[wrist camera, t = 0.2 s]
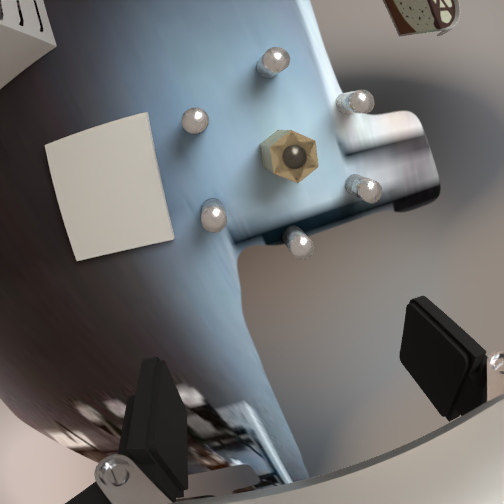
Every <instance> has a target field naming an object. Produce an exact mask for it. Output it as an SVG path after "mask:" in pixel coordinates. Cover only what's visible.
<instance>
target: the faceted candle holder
mask: <svg viewBox="0 0 504 504" xmlns="http://www.w3.org/2000/svg"><path fill="white" fill-rule="evenodd" d="M260 149H261V155H262V162H263V167H264V168H266V169H267V170H269V171H270V172H272V173H273V174H276V175H278V176H281V177H284V178H286V179H289V180H291V181H294V182H296V183H299V182H300V181H301V180H303V179H304V178H305V177H306V176H308V175H309V174H310V173H311V172H313V171H314V170H315V169H316V168H318V159H317V151H316V143H315V140H312V139H310V138H308V137H306V136H303V135H301V134H299V133H296V132H294V131H292V130H277V131H276V132H275V133H273V134H272V135H271V136H270V137H268V138H267V139H266V140H265V141H263V142H262V143H261V144H260Z"/></svg>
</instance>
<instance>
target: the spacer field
mask: <svg viewBox="0 0 504 504" xmlns="http://www.w3.org/2000/svg"><path fill="white" fill-rule="evenodd" d="M289 63H290V57H289V54H288V53H287V52H286V51H285V50H284V49H282V48H279V47H273V48H270V49H269V50H267V51H266V53H265V54H264V55H263V56H262V57H261V58H260V60H259V61H258V62H257V66H256V68H257V71H258V73H259V74H260V75H261V76H263V77H266V78H271V77H274V76H276V75H277V74H278V73H280V72H281V71H283V70H284V69H285V68H287V67H288V65H289ZM336 104H337V107H338V109H339V110H340V111H341V112H342V113H345V114H352V113H368V112H370V111H371V110H372V109H373V107H374V98H373V96H372V94H371V93H370V92H368V91H366V90H358V91H352V92H347V93H343V94H340V95H339V96H338V98H337V100H336ZM208 122H209V118H208V115H207V113H206V112H205V111H204V110H203V109H200V108H191V109H189V110H187V111H186V112H185V113H184V114H183V116H182V126H183V128H184V129H185V130H186V131H187V132H189V133H192V134H198V133H201V132H203V131H204V130H205V129H206V127H207V125H208ZM345 186H346V190H347V191H348V192H349V193H350V194H352V195H354V196H356V197H358V198H360V199H362V200H364V201H366V202H368V203H375V202H377V201H378V200H379V199H380V197H381V195H382V187H381V185H380V184H379V183H378V182H377V181H374V180H371V179H369V178H366V177H363V176H360V175H357V174H353V175H350V176H349V177H348V178H347V180H346V184H345ZM201 223H202V226H203V227H204V229H205V230H207V231H209V232H212V233H215V232H219V231H221V230H222V229H224V227H225V226H226V223H227V217H226V213H225V210H224V206H223V204H222V202H221V201H220V200H218V199H215V198H211V199H208V200H206V201H205V202H204V203H203V205H202V209H201ZM282 239H283V241H284V243H285V244H286V246H287V247H288V248H289V250H290V251H291V253H292V254H293V256H294V257H295V258H296V259H298V260H305V259H308V258H309V257H310V256H311V255H312V254H313V252H314V243H313V242H312V241H311V240H310V238H309V237H308V236H307V235H306V234H305V233H304V232H303V231H302V230H301V229H300V228H299V227H298V226H295V225H291V226H288V227H287V228H285V229H284V231H283V233H282Z"/></svg>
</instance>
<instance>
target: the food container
mask: <svg viewBox="0 0 504 504" xmlns="http://www.w3.org/2000/svg"><path fill="white" fill-rule="evenodd" d="M383 2H384V4H385V6H386V8H387V10H388V12H389V14H390V17H391V18H392V21H393V23H394V26H395V28H396V30H397V32H398V35H399V36H405V35H412V34H419V33H426V32H434V31H442V32H440V33H439V34H437V36H440V35H443V34H445V33H447V32H448V31H450V30H451V29H452V28H453V27H454V26H455V25H456V24H457V22H458V20H459V17H460V5H459V0H383Z"/></svg>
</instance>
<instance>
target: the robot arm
mask: <svg viewBox="0 0 504 504" xmlns="http://www.w3.org/2000/svg"><path fill="white" fill-rule="evenodd" d="M485 354H486V351H485V350H484V349H483V348H482V347H481V346H480V345H479V344H478V343H477V342H476V341H475V340H474V339H473V338H471V337H470V336H469V335H468V334H467V333H466V332H465V331H464V330H463V329H462V328H461V327H459V326H458V325H457V324H456V323H455V322H454V321H453V320H452V319H451V318H449V317H448V316H447V315H446V314H445V313H444V312H443V311H442V310H440V309H439V308H438V307H437V306H436V305H434V304H433V303H432V302H431V301H430V300H429V299H428V298H426V297H425V296H420V297H418V298H415V299H412V300H410V302H409V304H408V305H407V307H406V315H405V323H404V330H403V337H402V343H401V349H400V361H401V363H402V364H403V365H404V366H405V368H406V369H407V371H408V372H409V373H410V375H411V376H412V377H413V378H414V380H415V381H416V382H417V384H418V385H419V386H420V388H421V389H422V390H423V392H424V393H425V394H426V396H427V397H428V398H429V400H430V401H431V402H432V404H433V405H434V406H435V408H436V409H437V410H438V412H439V413H440V414H441V416H443V417H444V416H445V417H446V418H447V419H448V421H449V422H450V421H451V420H453V419H455V418H457V417H459V416H460V415H461V417H460V418H458V419H456V420H454V421H452V422H451V423H449V424H447V425H445V426H443V427H441V428H439V429H437V430H435V431H433V432H431V433H429V434H427V435H425V436H423V437H421V438H419V439H417V440H414V441H412V442H410V443H408V444H406V445H403V446H401V447H399V448H396V449H394V450H392V451H389V452H387V453H384V454H382V455H379V456H377V457H374V458H371V459H369V460H366V461H363V462H360V463H358V464H355V465H352V466H349V467H346V468H343V469H340V470H337V471H334V472H330V473H327V474H324V475H320V476H316V477H313V478H309V479H305V480H301V481H297V482H293V483H289V484H285V485H280V486H276V487H271V488H266V489H261V490H255V491H250V492H244V493H238V494H232V495H225V496H218V497H209V498H202V499H195V500H187V501H181V502H176V498H180V497H184V490H187V489H188V464H187V413H186V408H185V406H184V404H183V402H182V399H181V397H180V395H179V393H178V390H177V388H176V386H175V383H174V381H173V379H172V376H171V374H170V372H169V369H168V367H167V364H166V362H165V361H164V360H162V361H160V359H159V358H158V357H155V358H147V359H143V360H142V364H141V369H140V374H139V379H138V384H137V390H136V395H132V396H129V398H128V401H127V406H126V411H125V416H124V422H123V427H122V433H121V439H120V445H119V451H118V455H111V456H108V457H106V458H104V459H103V460H102V461H100V462H99V464H98V465H97V467H96V470H95V480H96V482H95V483H93V484H92V485H90V486H89V487H88V488H86V489H85V490H84V491H83V492H81V493H79V494H78V495H77V496H75V497H74V498H72V499H71V500H70V501H68V502H67V503H65V504H504V351H496V352H493V353H492V354H490V355H489V357H487V356H486V355H485Z"/></svg>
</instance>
